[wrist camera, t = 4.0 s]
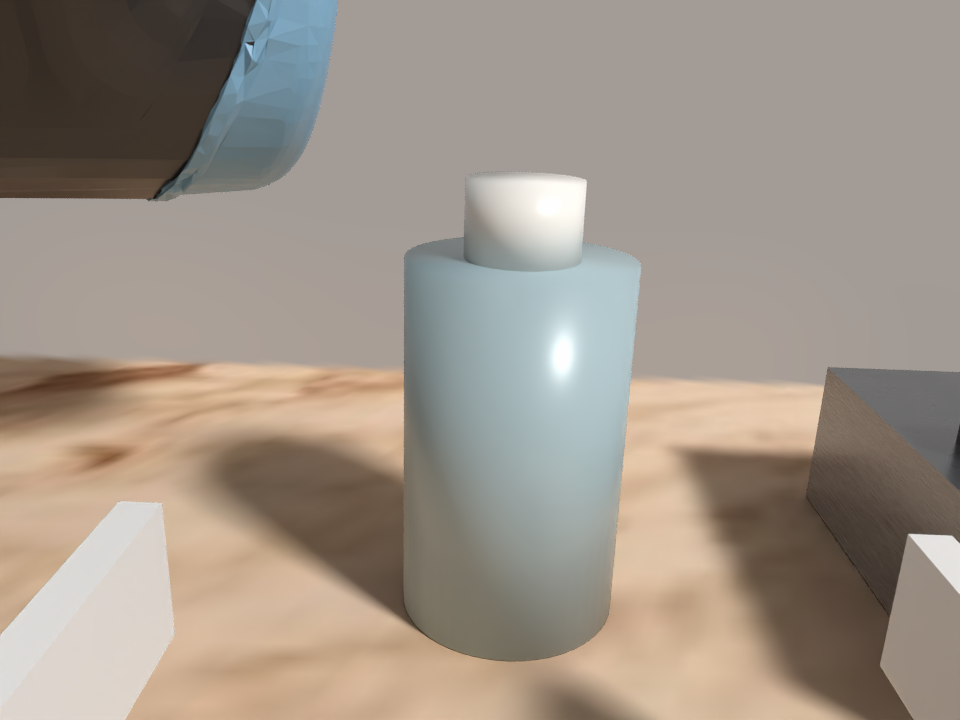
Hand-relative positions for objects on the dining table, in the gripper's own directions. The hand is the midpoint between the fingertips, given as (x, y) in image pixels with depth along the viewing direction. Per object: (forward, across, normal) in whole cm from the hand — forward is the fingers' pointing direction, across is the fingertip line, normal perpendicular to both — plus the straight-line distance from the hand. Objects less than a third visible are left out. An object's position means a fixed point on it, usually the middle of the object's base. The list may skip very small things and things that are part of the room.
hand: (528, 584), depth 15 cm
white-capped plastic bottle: (+8, 0, -6) cm, 10 cm away
